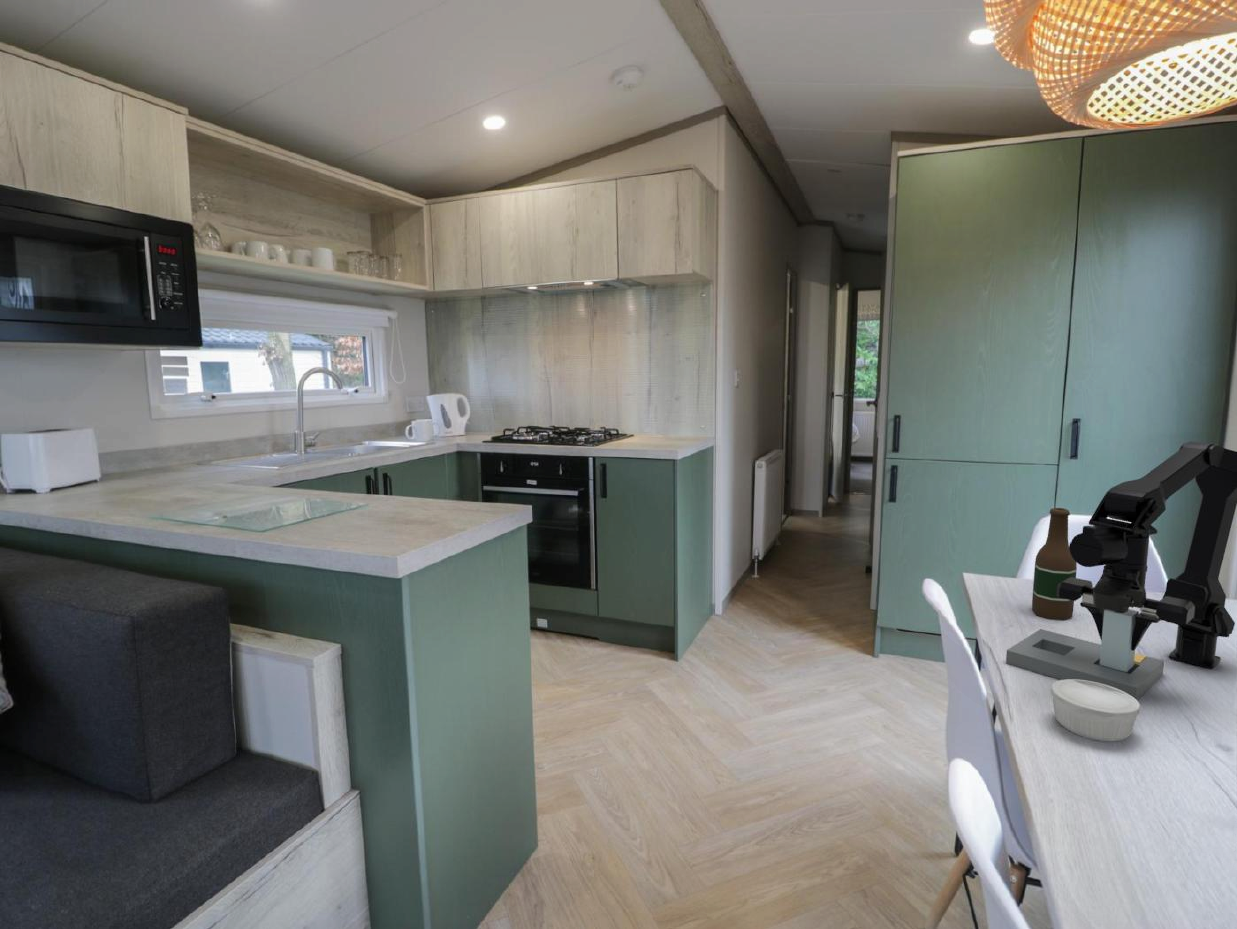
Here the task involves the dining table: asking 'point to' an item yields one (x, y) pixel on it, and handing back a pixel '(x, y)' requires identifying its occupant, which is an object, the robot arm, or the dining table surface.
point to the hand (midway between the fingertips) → (1118, 646)
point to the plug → (1118, 640)
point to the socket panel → (1081, 662)
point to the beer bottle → (1054, 570)
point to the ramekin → (1094, 709)
